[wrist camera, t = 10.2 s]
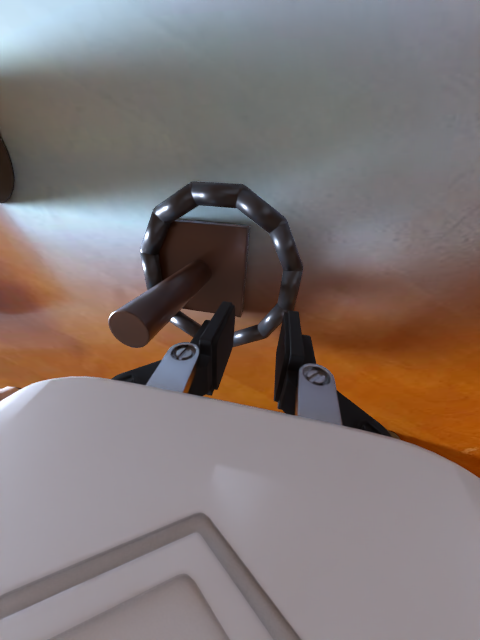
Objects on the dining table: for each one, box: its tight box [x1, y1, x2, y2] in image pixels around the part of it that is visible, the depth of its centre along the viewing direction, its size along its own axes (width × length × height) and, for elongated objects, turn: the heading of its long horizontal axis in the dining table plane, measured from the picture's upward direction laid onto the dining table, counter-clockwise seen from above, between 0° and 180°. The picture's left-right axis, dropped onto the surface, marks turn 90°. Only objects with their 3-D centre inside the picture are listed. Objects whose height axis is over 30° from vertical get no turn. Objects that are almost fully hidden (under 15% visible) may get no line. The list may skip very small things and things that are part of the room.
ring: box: [140, 181, 303, 347], centre depth 19 cm, size 15×15×2 cm
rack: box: [108, 219, 250, 348], centre depth 16 cm, size 9×9×12 cm
